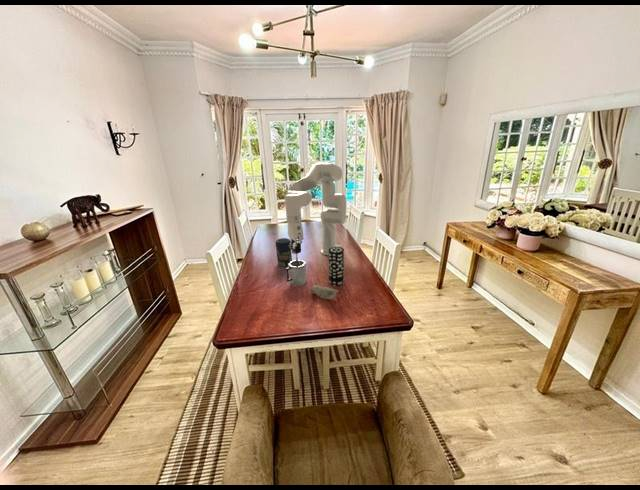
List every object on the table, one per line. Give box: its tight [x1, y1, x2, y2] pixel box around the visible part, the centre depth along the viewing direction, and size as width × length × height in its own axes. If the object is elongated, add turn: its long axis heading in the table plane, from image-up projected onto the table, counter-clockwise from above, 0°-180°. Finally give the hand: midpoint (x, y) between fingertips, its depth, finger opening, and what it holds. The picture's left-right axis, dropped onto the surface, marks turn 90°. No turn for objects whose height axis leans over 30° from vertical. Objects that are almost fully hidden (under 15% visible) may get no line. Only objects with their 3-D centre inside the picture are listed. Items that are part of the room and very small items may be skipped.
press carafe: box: [285, 259, 307, 287], centre depth 140 cm, size 11×9×12 cm
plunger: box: [291, 241, 302, 267], centre depth 137 cm, size 6×6×16 cm
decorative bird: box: [311, 284, 340, 305], centre depth 126 cm, size 5×16×7 cm, turn 55°
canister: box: [275, 237, 293, 267], centre depth 162 cm, size 10×10×18 cm
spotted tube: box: [328, 247, 345, 287], centre depth 138 cm, size 8×8×20 cm
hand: (296, 250), depth 135 cm, fingers open, 4 cm apart
